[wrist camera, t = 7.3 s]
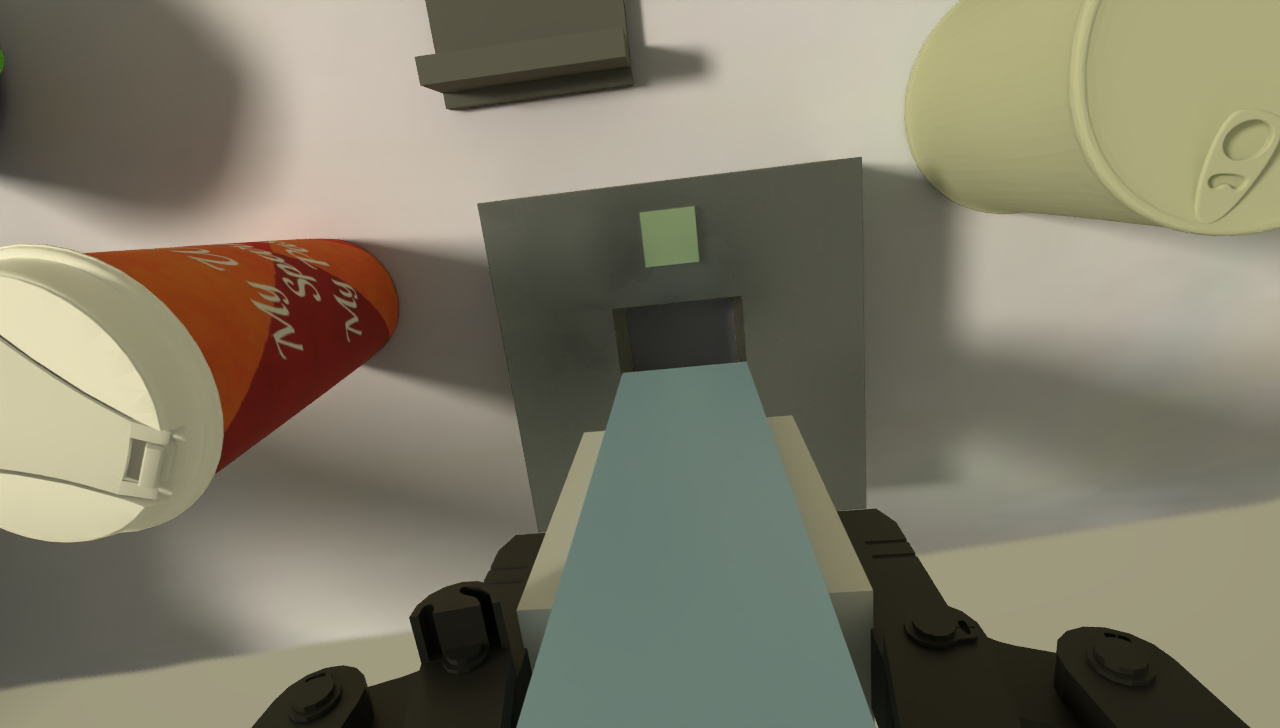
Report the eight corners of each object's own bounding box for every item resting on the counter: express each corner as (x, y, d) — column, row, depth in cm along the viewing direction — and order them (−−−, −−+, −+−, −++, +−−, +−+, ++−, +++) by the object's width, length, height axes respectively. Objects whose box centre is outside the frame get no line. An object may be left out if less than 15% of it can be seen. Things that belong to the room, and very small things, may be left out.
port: (559, 478, 32) (537, 535, 27) (512, 198, 28) (474, 204, 23) (836, 456, 30) (868, 512, 25) (828, 160, 26) (864, 156, 21)
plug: (637, 483, 19) (530, 1216, 6) (622, 372, 18) (449, 948, 5) (754, 474, 19) (942, 1234, 5) (746, 361, 18) (954, 948, 4)
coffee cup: (445, 257, 29) (212, 338, 14) (395, 407, 31) (152, 605, 17) (274, 182, 28) (-148, 188, 14) (236, 340, 30) (-156, 486, 16)
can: (879, 198, 27) (1031, 214, 15) (936, -44, 24) (1173, -246, 13) (1092, 226, 27) (1406, 264, 15) (1173, -14, 24) (1633, -191, 12)
